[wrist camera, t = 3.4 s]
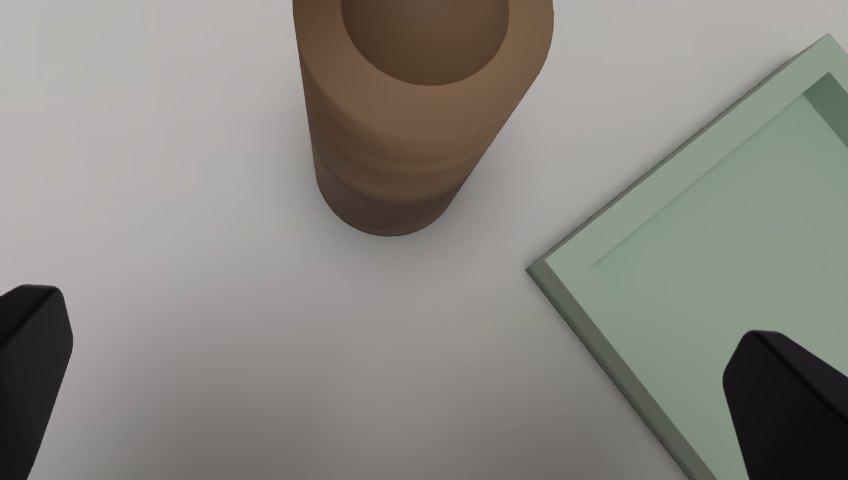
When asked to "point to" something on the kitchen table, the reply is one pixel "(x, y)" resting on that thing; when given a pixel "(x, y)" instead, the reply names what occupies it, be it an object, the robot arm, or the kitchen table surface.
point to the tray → (718, 258)
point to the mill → (411, 97)
